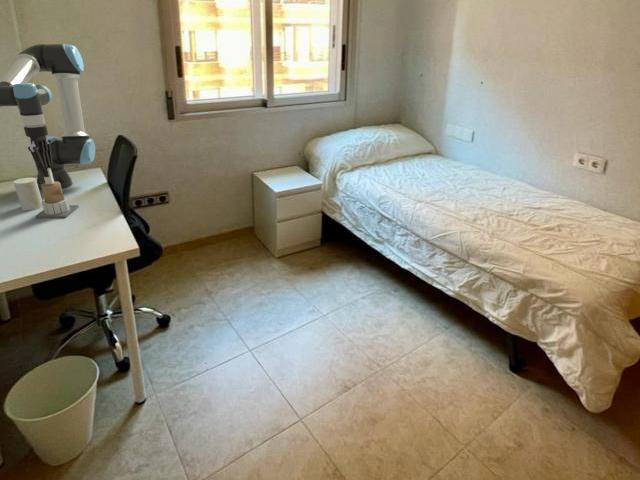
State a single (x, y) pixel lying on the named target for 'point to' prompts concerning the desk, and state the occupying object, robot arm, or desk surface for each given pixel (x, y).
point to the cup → (28, 193)
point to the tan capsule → (52, 192)
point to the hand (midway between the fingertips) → (50, 183)
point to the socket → (56, 209)
